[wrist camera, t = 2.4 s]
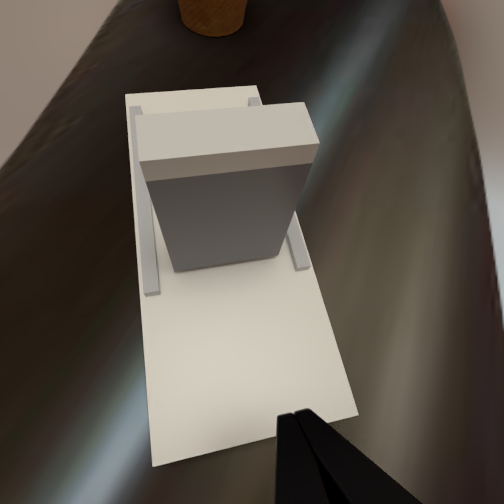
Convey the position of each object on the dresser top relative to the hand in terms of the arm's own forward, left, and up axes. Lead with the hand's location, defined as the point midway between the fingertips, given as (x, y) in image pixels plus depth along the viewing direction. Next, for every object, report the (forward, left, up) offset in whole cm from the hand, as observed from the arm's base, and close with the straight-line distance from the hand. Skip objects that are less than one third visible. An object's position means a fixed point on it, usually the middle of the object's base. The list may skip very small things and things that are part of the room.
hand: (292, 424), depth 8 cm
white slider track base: (+11, +2, -11) cm, 16 cm away
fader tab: (+9, +2, -8) cm, 12 cm away
